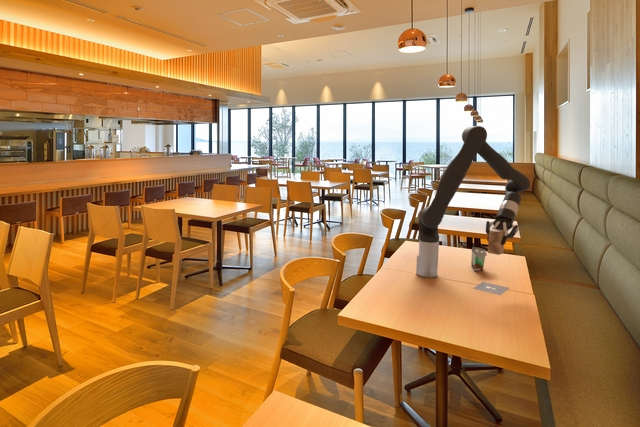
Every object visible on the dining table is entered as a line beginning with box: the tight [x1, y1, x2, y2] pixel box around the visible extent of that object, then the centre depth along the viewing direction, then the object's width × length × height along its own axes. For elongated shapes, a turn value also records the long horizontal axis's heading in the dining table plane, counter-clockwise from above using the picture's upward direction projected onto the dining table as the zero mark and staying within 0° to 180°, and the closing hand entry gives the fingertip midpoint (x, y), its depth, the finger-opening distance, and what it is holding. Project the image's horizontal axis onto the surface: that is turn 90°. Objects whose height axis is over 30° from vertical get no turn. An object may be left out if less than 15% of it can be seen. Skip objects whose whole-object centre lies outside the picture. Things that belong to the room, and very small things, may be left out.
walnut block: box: [487, 228, 505, 256], centre depth 179 cm, size 5×5×10 cm
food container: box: [470, 246, 488, 273], centre depth 208 cm, size 12×6×10 cm, turn 168°
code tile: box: [472, 281, 510, 296], centre depth 181 cm, size 12×12×1 cm
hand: (495, 243), depth 178 cm, fingers closed on walnut block, 5 cm apart
